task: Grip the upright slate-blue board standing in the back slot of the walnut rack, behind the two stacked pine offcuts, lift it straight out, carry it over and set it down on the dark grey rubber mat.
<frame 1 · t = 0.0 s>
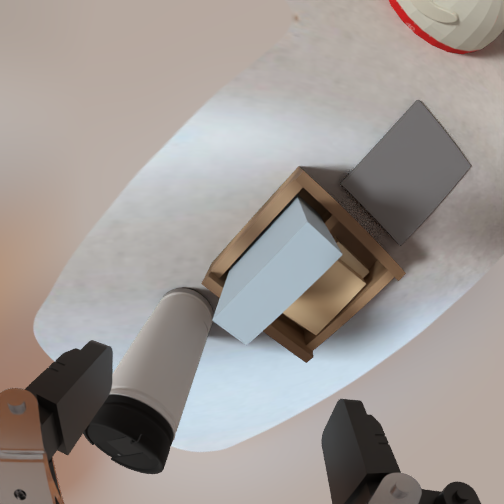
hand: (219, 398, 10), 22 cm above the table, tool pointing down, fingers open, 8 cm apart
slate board: (274, 238, 30), point 1 cm above the table, touching rack
offcut lower: (322, 279, 31), point 1 cm above the table, touching offcut upper, rack
mat: (410, 172, 28), on the table
kitchen timer: (438, 0, 21), on the table
offcut upper: (322, 291, 30), point 3 cm above the table, touching offcut lower
travel mug: (188, 310, 35), on the table
rack: (302, 258, 32), on the table
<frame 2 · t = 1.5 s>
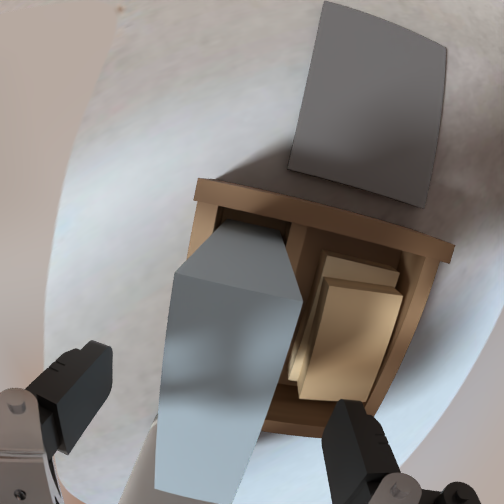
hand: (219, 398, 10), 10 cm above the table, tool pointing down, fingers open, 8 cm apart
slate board: (236, 297, 19), point 1 cm above the table, touching rack
offcut lower: (338, 318, 19), point 1 cm above the table, touching offcut upper, rack
mat: (376, 98, 17), on the table
offcut upper: (344, 338, 17), point 3 cm above the table, touching offcut lower
travel mug: (191, 428, 23), on the table
rack: (295, 304, 20), on the table
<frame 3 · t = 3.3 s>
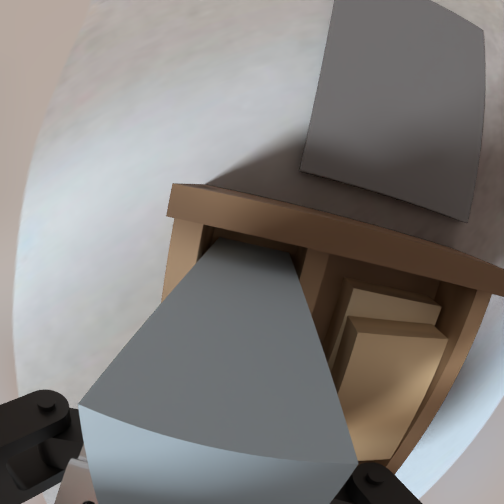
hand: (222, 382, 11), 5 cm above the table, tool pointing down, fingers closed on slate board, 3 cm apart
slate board: (232, 338, 14), point 1 cm above the table, touching gripper, rack
offcut lower: (360, 361, 14), point 1 cm above the table, touching offcut upper, rack
mat: (409, 83, 12), on the table
offcut upper: (369, 388, 13), point 3 cm above the table, touching offcut lower
rack: (307, 344, 15), on the table
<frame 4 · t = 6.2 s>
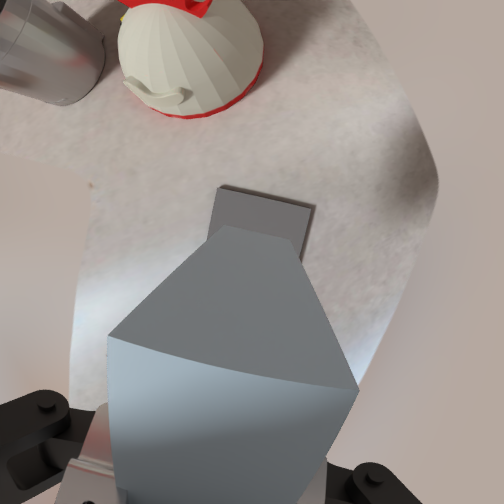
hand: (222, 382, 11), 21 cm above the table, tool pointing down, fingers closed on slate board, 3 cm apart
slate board: (236, 323, 15), point 16 cm above the table, touching gripper
mat: (250, 258, 31), on the table
kitchen timer: (195, 58, 28), on the table
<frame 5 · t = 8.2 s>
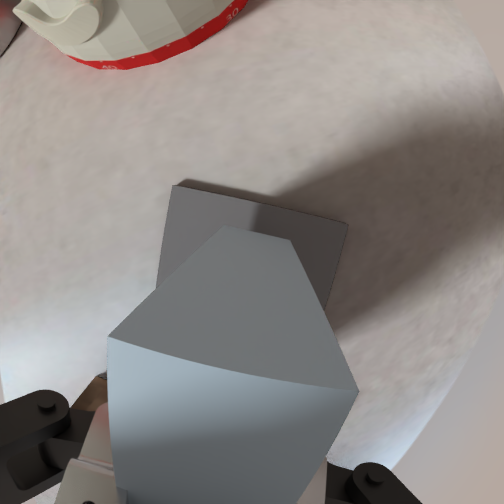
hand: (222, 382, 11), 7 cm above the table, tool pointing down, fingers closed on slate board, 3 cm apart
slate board: (236, 323, 15), point 2 cm above the table, touching gripper
mat: (236, 311, 17), on the table
rack: (177, 460, 20), on the table
when the fingers open (5 cm above the table, at t = 9.2 s): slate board stays where it is, resting on mat.
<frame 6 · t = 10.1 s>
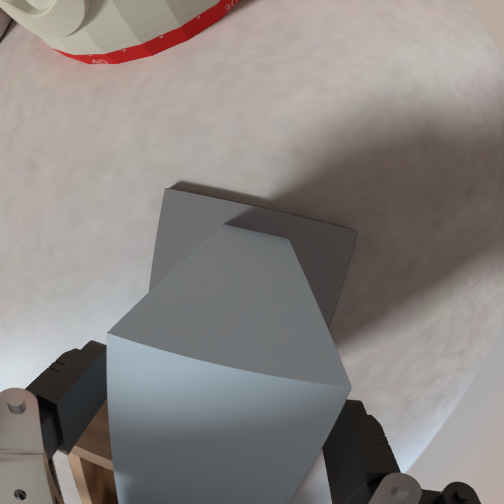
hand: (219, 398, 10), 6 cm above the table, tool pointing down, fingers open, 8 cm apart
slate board: (235, 322, 15), point 1 cm above the table, touching mat
mat: (235, 325, 16), on the table
rack: (173, 474, 19), on the table
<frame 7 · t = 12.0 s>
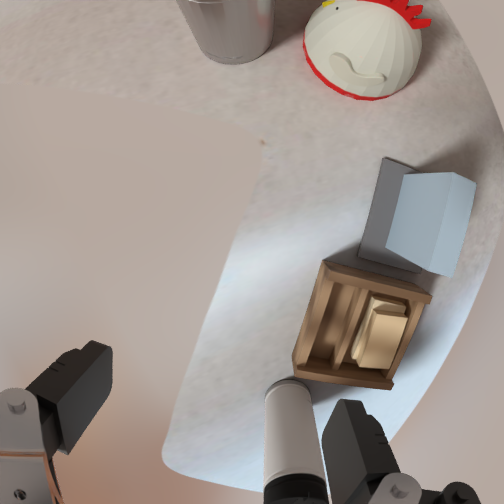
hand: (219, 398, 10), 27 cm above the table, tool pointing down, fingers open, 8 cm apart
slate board: (405, 214, 34), point 1 cm above the table, touching mat
offcut lower: (375, 328, 37), point 1 cm above the table, touching offcut upper, rack
mat: (403, 217, 35), on the table
kitchen timer: (357, 51, 31), on the table
offcut upper: (379, 337, 35), point 3 cm above the table, touching offcut lower
travel mug: (288, 394, 41), on the table
rack: (354, 321, 38), on the table
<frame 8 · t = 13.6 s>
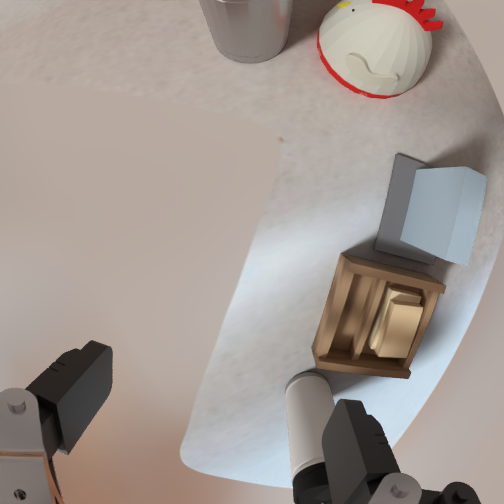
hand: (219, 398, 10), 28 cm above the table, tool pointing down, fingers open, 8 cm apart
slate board: (418, 207, 35), point 1 cm above the table, touching mat
offcut lower: (392, 318, 37), point 1 cm above the table, touching offcut upper, rack
mat: (416, 210, 36), on the table
kitchen timer: (369, 50, 32), on the table
offcut upper: (396, 327, 36), point 3 cm above the table, touching offcut lower
travel mug: (307, 387, 41), on the table
rack: (372, 312, 38), on the table
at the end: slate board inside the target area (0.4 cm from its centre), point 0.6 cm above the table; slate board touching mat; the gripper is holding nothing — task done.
